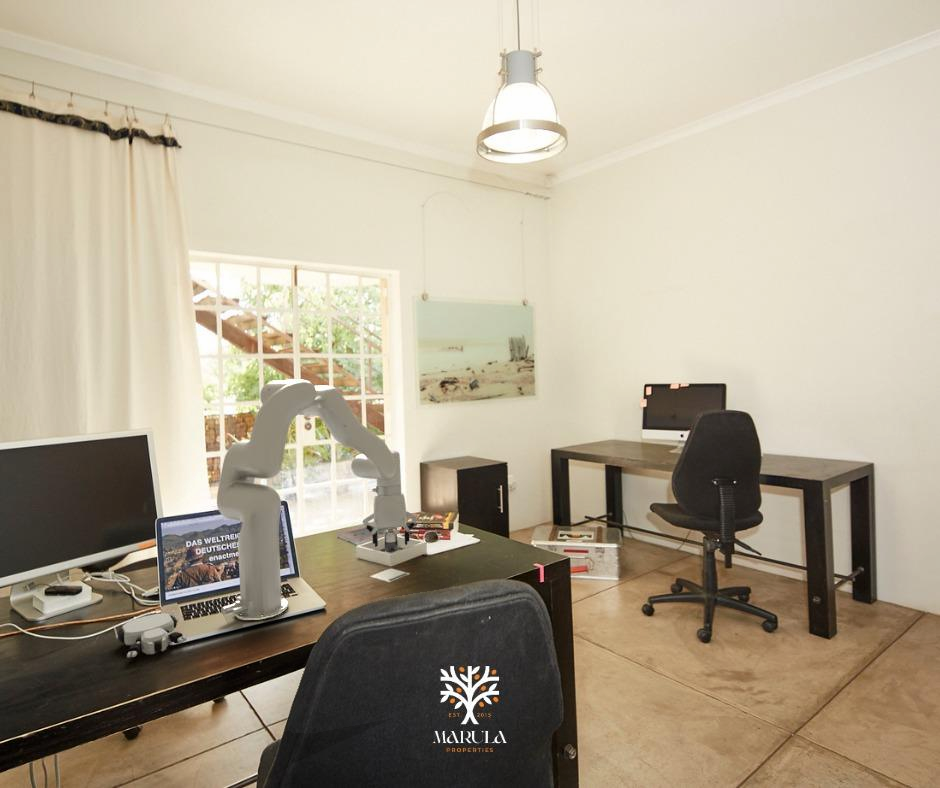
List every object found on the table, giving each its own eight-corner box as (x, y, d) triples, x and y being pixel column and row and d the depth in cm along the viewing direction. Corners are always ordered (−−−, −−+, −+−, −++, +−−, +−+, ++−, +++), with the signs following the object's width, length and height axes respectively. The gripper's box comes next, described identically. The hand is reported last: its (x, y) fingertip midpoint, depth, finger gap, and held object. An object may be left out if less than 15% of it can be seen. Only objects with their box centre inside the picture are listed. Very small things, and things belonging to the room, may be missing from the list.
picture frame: (388, 526, 222) (337, 538, 209) (388, 520, 222) (336, 531, 209) (412, 535, 210) (359, 548, 196) (412, 528, 210) (359, 540, 196)
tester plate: (389, 585, 158) (389, 581, 158) (370, 579, 163) (369, 576, 163) (410, 576, 164) (410, 573, 164) (390, 571, 169) (390, 567, 169)
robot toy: (190, 651, 125) (173, 625, 137) (190, 631, 125) (173, 606, 137) (125, 671, 118) (113, 641, 129) (124, 650, 117) (112, 622, 129)
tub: (390, 569, 171) (390, 554, 171) (356, 560, 181) (355, 546, 181) (426, 555, 183) (426, 541, 183) (392, 547, 193) (392, 534, 193)
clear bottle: (391, 559, 179) (390, 531, 179) (382, 556, 182) (381, 529, 181) (400, 555, 182) (399, 528, 182) (391, 553, 185) (390, 526, 184)
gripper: (360, 494, 177) (362, 550, 177) (417, 491, 178) (419, 546, 179) (362, 489, 184) (364, 543, 185) (416, 486, 186) (418, 539, 186)
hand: (391, 544), depth 182 cm, fingers open, 9 cm apart
